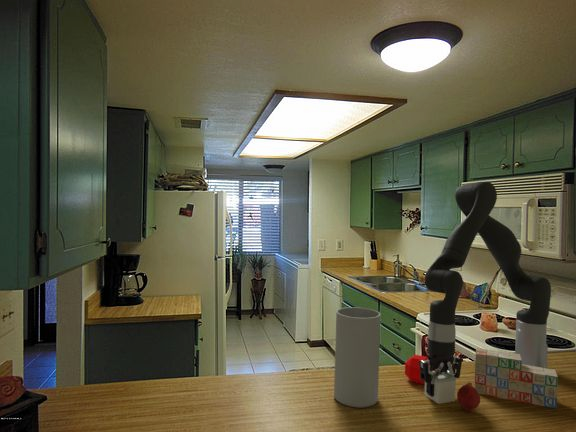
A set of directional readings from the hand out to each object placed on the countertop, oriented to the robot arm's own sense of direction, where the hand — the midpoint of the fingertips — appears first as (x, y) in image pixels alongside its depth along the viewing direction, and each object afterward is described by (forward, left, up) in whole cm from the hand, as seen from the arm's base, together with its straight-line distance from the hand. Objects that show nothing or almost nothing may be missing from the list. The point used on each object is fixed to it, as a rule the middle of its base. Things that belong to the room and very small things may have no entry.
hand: (439, 393), depth 122 cm
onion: (-2, +9, -1) cm, 9 cm away
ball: (-2, -12, -1) cm, 12 cm away
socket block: (0, 0, -1) cm, 1 cm away
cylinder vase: (+24, -7, -1) cm, 25 cm away
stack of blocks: (-22, +6, -2) cm, 23 cm away
